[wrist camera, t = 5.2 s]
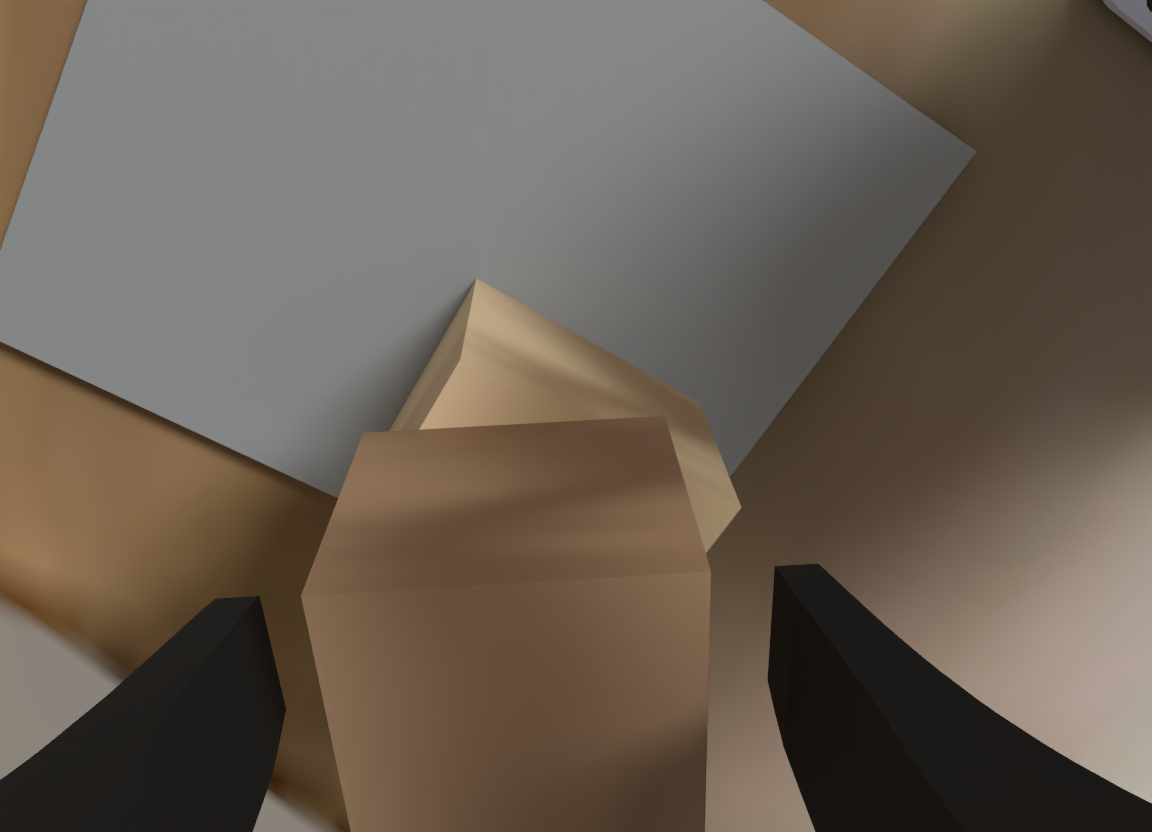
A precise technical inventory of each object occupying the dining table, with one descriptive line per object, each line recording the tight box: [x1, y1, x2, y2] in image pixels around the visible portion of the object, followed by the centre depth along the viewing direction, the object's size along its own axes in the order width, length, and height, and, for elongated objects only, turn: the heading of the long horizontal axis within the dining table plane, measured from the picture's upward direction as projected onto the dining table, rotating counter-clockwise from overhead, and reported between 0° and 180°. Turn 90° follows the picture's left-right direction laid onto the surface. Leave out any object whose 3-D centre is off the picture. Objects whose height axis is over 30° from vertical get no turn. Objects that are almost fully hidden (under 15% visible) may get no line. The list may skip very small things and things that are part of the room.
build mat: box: [0, 0, 977, 498], centre depth 17 cm, size 14×12×1 cm
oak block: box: [389, 278, 741, 553], centre depth 16 cm, size 5×5×4 cm
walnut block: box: [301, 416, 711, 832], centre depth 13 cm, size 4×4×4 cm
